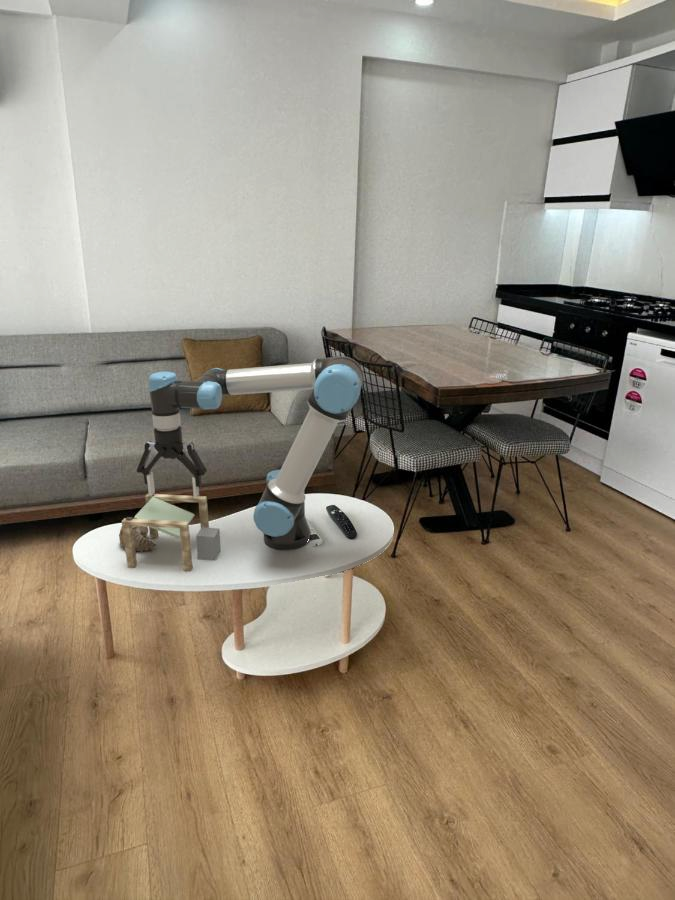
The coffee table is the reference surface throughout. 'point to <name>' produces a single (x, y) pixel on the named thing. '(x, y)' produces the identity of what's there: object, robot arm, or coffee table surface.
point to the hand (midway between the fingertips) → (174, 495)
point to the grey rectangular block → (208, 543)
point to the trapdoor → (164, 515)
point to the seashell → (139, 539)
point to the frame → (183, 526)
